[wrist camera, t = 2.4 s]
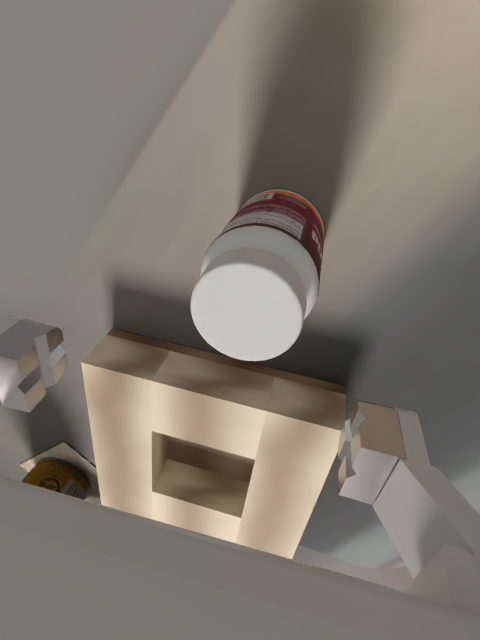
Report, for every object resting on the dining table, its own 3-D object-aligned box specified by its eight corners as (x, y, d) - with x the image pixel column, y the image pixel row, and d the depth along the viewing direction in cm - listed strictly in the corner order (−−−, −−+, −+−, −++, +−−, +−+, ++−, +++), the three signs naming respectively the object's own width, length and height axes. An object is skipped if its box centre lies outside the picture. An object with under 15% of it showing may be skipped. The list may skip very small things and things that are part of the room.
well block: (345, 386, 24) (345, 432, 21) (294, 518, 33) (289, 564, 30) (112, 328, 26) (81, 362, 23) (123, 468, 35) (101, 506, 32)
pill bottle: (314, 282, 21) (298, 383, 14) (230, 265, 22) (177, 353, 15) (336, 196, 18) (331, 269, 12) (240, 178, 19) (181, 238, 12)
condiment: (20, 463, 39) (-88, 594, 29) (64, 440, 35) (-44, 583, 25) (73, 505, 41) (-11, 639, 32) (121, 487, 37) (41, 636, 28)
